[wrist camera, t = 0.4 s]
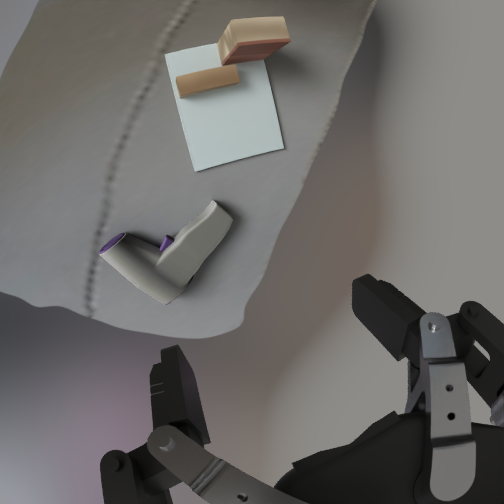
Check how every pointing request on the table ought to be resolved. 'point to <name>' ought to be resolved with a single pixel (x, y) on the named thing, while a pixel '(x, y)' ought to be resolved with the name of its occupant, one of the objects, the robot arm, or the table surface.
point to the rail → (207, 80)
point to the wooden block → (252, 39)
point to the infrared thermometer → (168, 254)
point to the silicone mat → (225, 110)
